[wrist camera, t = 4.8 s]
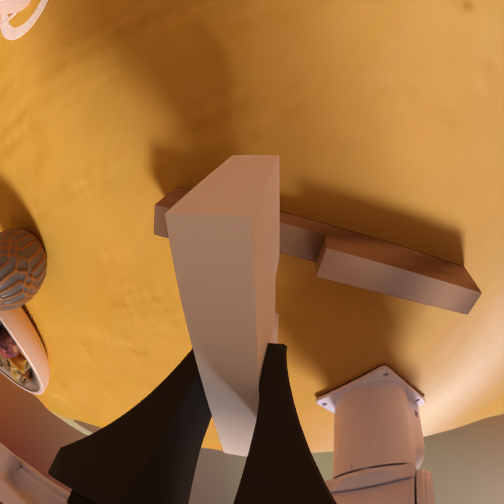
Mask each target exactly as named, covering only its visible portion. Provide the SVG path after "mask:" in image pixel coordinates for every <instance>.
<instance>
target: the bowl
mask: <svg viewBox="0 0 504 504" xmlns="http://www.w3.org/2000/svg"><path fill="white" fill-rule="evenodd" d="M0 372H1V373H2V374H3V375H5V376H6V377H7V378H8V379H9V380H11V381H12V382H13V383H15V384H16V385H18V386H20V387H21V388H23V389H24V390H26V391H28V392H30V393H33V394H37V395H39V394H42V393H43V392H44V390H45V389H46V387H47V385H48V382H49V376H50V368H49V362H48V358H47V354H46V351H45V349H44V346H43V344H42V342H41V339H40V337H39V335H38V333H37V332H36V330H35V328H34V326H33V324H32V322H31V321H30V319H29V317H28V316H27V314H26V312H25V311H24V309H23V308H22V306H21V307H19V308H16V309H13V310H0Z"/></svg>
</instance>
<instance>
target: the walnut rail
mask: <svg viewBox="0 0 504 504" xmlns="http://www.w3.org/2000/svg"><path fill="white" fill-rule="evenodd" d="M189 191H191V190H188V189H183V188H179V187H176V188H175V189H174V190H173V191H171V192H170V193H169V194H168V195H166V196H165V197H164V198H163V199H161V200H160V201H159V202H158V203H156V204H155V215H154V234H155V235H158V236H162V237H166V238H169V236H168V230H167V225H166V219H165V213H166V212H167V211H168V210H169V209H171V208H172V207H173V206H174V205H175V204H176V203H177V202H178V201H179V200H180V199H182V198H183V197H184V196H185V195H186V194H187V193H188V192H189ZM279 253H283V254H287V255H291V256H295V257H299V258H302V259H306V260H310V261H314V262H316V277H319V278H323V279H326V280H330V281H334V282H338V283H342V284H346V285H350V286H354V287H358V288H362V289H366V290H370V291H374V292H378V293H382V294H386V295H390V296H394V297H398V298H402V299H406V300H410V301H414V302H418V303H422V304H426V305H430V306H434V307H438V308H442V309H446V310H450V311H454V312H459V313H463V314H467V315H468V313H469V312H470V310H471V309H472V307H473V306H474V304H475V303H476V301H477V300H478V298H479V297H480V295H481V291H480V290H479V288H478V286H477V285H476V283H475V282H474V280H473V279H472V277H471V276H470V275H469V273H468V272H467V270H466V269H465V267H462V266H459V265H456V264H453V263H451V262H448V261H445V260H442V259H439V258H436V257H433V256H430V255H427V254H424V253H421V252H418V251H414V250H411V249H408V248H405V247H402V246H399V245H396V244H392V243H389V242H386V241H383V240H379V239H376V238H373V237H369V236H366V235H363V234H359V233H356V232H352V231H349V230H346V229H342V228H339V227H335V226H332V225H328V224H324V223H321V222H317V221H314V220H310V219H306V218H302V217H299V216H295V215H291V214H287V213H284V212H280V249H279Z"/></svg>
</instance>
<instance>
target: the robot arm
mask: <svg viewBox="0 0 504 504" xmlns="http://www.w3.org/2000/svg"><path fill="white" fill-rule="evenodd" d="M286 352H287V346H286V345H284V344H276V343H268V345H267V348H266V352H265V356H264V361H263V365H262V374H261V385H260V395H259V406H258V413H257V419H256V424H255V428H254V432H253V436H252V440H251V444H250V448H249V452H248V456H247V460H246V464H245V467H244V471H243V474H242V478H241V481H240V485H239V488H238V491H237V494H236V498H235V501H234V504H435V498H434V488H433V480H432V475H431V473H430V472H429V471H426V470H425V469H420V470H418V469H419V467H420V466H421V463H422V461H423V458H424V453H425V448H424V441H423V434H422V427H421V421H420V415H419V410H418V406H420V405H422V404H424V403H425V398H424V397H422V396H421V395H420V394H419V393H418V392H417V391H416V390H414V389H413V388H412V387H411V386H410V385H409V384H407V383H406V382H405V381H404V380H403V379H402V378H400V377H399V376H398V375H397V374H396V373H395V372H394V371H392V370H391V369H390V368H389V367H388V366H381V367H379V368H377V369H375V370H373V371H371V372H369V373H368V374H366V375H364V376H362V377H360V378H358V379H356V380H354V381H352V382H350V383H348V384H346V385H344V386H342V387H340V388H338V389H336V390H333V391H331V392H329V393H327V394H325V395H323V396H320V397H318V398H317V399H316V403H317V404H319V405H320V406H322V407H324V408H326V409H327V410H329V411H331V412H333V413H335V415H334V454H333V474H332V475H333V476H332V480H327V481H324V480H323V478H322V476H321V473H320V471H319V469H318V467H317V465H316V463H315V461H314V459H313V456H312V454H311V452H310V449H309V447H308V444H307V442H306V439H305V436H304V433H303V431H302V428H301V425H300V422H299V419H298V415H297V412H296V408H295V405H294V401H293V397H292V392H291V387H290V383H289V377H288V370H287V359H286ZM211 417H212V414H211V411H210V408H209V404H208V401H207V398H206V394H205V391H204V387H203V384H202V380H201V377H200V373H199V370H198V366H197V362H196V359H195V355H194V351H193V349H192V350H191V351H190V352H189V353H188V355H187V356H186V357H185V358H184V359H183V360H182V361H181V363H180V364H179V365H178V366H177V367H176V368H175V369H174V370H173V371H172V372H171V373H170V375H169V376H168V377H167V378H166V379H165V380H164V381H163V382H162V383H161V384H160V385H159V386H157V387H156V388H155V389H154V390H153V391H152V392H151V393H150V394H149V395H148V396H147V397H146V398H144V399H143V400H142V401H141V402H140V403H138V404H137V405H136V406H135V407H133V408H132V409H131V410H129V411H128V412H127V413H125V414H124V415H122V416H121V417H120V418H118V419H117V420H115V421H114V422H112V423H110V424H109V425H107V426H105V427H104V428H102V429H100V430H98V431H97V432H95V433H93V434H91V435H89V436H87V437H85V438H83V439H81V440H78V441H76V442H74V443H71V444H69V445H66V446H64V447H61V449H60V450H59V452H58V453H57V455H56V457H55V459H54V461H53V463H52V465H51V467H50V469H49V471H48V473H49V475H50V476H52V477H53V478H55V479H56V480H58V481H59V482H61V483H63V484H64V485H66V486H68V487H69V488H71V489H72V491H71V493H69V492H67V491H66V490H64V489H62V488H61V487H59V486H57V485H56V484H55V483H53V482H51V481H50V480H48V479H47V478H45V477H44V476H43V475H41V473H39V472H38V471H37V470H35V469H34V468H33V467H31V466H30V465H29V464H27V463H26V462H24V461H23V460H22V459H20V458H19V457H17V456H16V455H15V454H13V453H12V452H11V451H10V450H9V449H7V448H6V447H5V446H4V445H3V444H1V443H0V500H1V502H2V503H3V504H188V502H189V497H190V492H191V486H192V482H193V478H194V473H195V469H196V464H197V460H198V456H199V452H200V448H201V445H202V442H203V439H204V436H205V433H206V431H207V428H208V425H209V422H210V420H211Z"/></svg>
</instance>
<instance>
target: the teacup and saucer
mask: <svg viewBox="0 0 504 504" xmlns="http://www.w3.org/2000/svg"><path fill="white" fill-rule="evenodd" d="M30 2H31V0H0V15H1V23H0V26H1V32H2V34H3V36H4V37H5V38H6V39H8V40H15V39H18V38H19V37H21V36H22V35H24V34H25V33H26V32H27V31H28V30H29V29H30V28H31V27H32V26H33V24H34V23H35V22H36V20H37V19H38V18H39V16H40V14H41V13H42V11H43V9H44V8H45V6H46V4H47V2H48V0H41V1H40V3H39V5H38V7H37V9H36V10H35V12H34V13H33V15H32V16H31V17H30V18H29V20H28V21H27V22H26V23H24V24H23V25H22V26H20V27H17V28H13V27H11V26H10V24H9V20H10V19H11V18H13V17H14V16H15V15H16V14H17V13H18V12H20V11H22V10H24V9H25V8H26V7H27V6H28V5H29V4H30ZM11 13H13V14H12V15H11V16H10V17H9V18H8V14H11Z"/></svg>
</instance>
